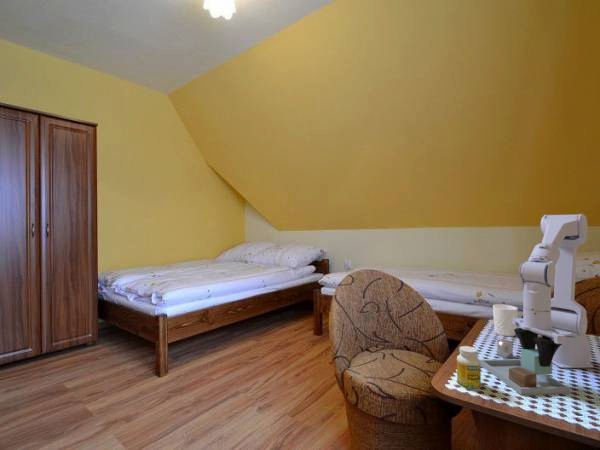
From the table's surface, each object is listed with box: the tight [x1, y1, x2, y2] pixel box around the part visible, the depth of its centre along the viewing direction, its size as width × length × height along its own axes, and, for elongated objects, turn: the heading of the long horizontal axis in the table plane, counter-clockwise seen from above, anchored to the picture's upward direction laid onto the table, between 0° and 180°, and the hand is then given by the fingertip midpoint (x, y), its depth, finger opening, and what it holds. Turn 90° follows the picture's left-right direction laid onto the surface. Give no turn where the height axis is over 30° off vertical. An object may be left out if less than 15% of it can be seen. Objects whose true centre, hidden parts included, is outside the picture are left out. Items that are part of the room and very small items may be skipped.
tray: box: [479, 358, 570, 396], centre depth 83 cm, size 12×16×2 cm
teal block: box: [520, 348, 553, 375], centre depth 80 cm, size 4×4×4 cm
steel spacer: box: [496, 338, 514, 359], centre depth 96 cm, size 4×4×5 cm
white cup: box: [492, 303, 519, 337], centre depth 118 cm, size 8×8×10 cm
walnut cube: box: [509, 366, 536, 388], centre depth 78 cm, size 4×4×4 cm
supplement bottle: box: [456, 345, 482, 391], centre depth 79 cm, size 5×5×10 cm
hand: (536, 361), depth 80 cm, fingers closed on teal block, 4 cm apart
